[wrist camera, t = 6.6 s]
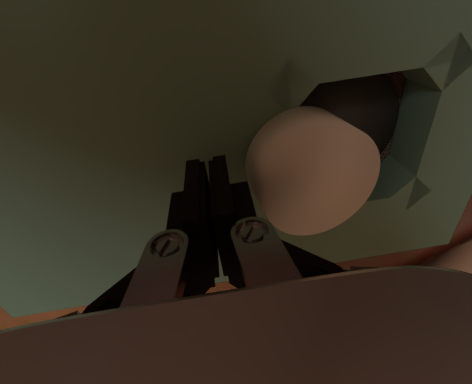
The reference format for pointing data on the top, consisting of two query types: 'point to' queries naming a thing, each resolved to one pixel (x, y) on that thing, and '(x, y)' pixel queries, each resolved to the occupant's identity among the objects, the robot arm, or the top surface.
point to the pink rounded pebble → (311, 170)
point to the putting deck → (214, 123)
